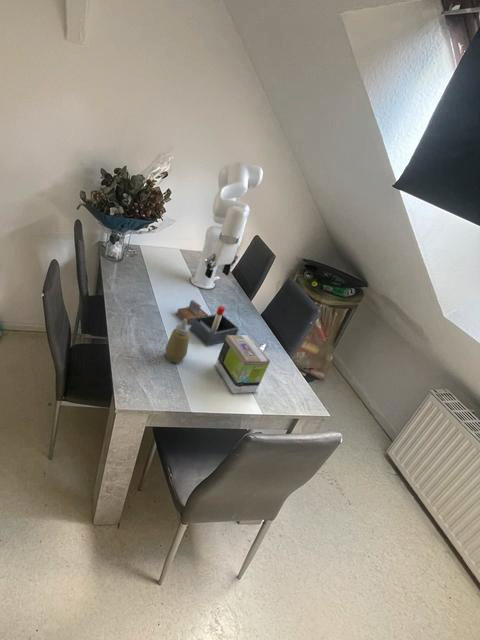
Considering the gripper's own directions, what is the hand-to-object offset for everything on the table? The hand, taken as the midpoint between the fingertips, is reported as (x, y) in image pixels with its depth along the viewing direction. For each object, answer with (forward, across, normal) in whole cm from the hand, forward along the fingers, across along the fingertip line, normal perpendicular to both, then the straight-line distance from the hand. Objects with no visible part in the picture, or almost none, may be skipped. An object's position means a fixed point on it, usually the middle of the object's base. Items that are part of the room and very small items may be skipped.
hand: (216, 275), depth 162 cm
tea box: (+22, +14, +36) cm, 44 cm away
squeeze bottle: (+22, +30, +19) cm, 42 cm away
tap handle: (+20, +4, -2) cm, 20 cm away
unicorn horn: (+22, -3, +30) cm, 37 cm away
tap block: (+23, +4, -2) cm, 23 cm away
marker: (+22, +4, +11) cm, 25 cm away
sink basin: (+22, +4, +11) cm, 25 cm away
